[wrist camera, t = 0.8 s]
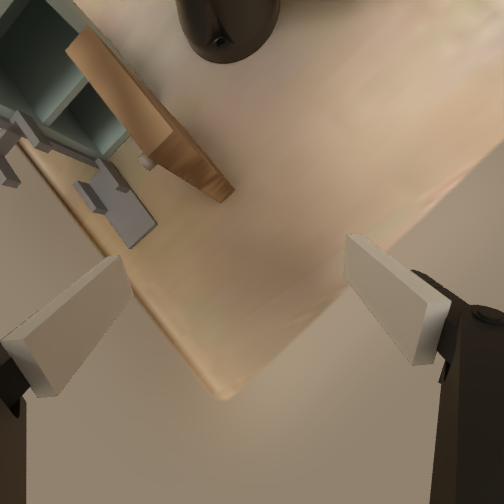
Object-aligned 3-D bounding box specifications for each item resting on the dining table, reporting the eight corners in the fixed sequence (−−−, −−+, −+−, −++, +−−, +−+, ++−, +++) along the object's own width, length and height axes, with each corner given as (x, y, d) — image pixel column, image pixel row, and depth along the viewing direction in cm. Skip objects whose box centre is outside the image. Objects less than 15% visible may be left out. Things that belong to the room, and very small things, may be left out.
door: (186, 129, 38) (87, 24, 21) (235, 189, 37) (173, 130, 19) (167, 148, 39) (56, 61, 21) (215, 208, 37) (137, 167, 20)
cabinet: (108, 39, 41) (-66, -153, 22) (215, 170, 37) (119, 78, 18) (37, 120, 44) (-171, 16, 25) (129, 250, 40) (-34, 247, 21)
